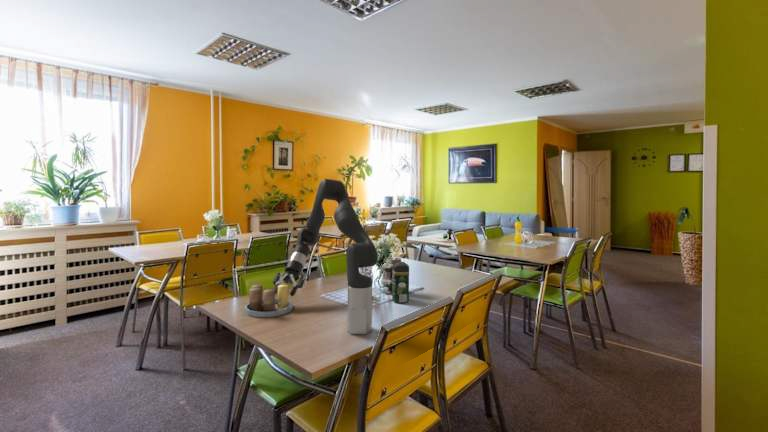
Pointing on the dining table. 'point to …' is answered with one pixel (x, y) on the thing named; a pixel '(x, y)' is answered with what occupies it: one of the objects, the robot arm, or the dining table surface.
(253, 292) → the brown cylinder
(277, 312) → the tray
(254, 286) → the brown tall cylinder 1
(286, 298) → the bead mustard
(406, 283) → the coffee jar
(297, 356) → the dining table surface
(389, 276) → the apothecary jar
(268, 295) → the brown cylinder
